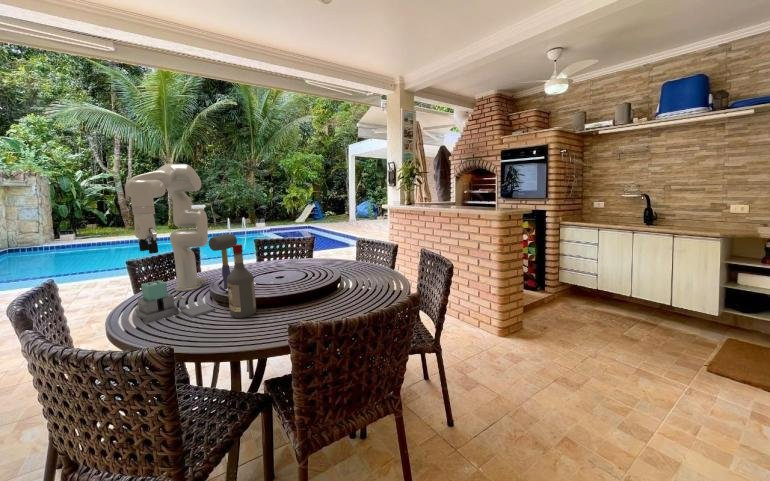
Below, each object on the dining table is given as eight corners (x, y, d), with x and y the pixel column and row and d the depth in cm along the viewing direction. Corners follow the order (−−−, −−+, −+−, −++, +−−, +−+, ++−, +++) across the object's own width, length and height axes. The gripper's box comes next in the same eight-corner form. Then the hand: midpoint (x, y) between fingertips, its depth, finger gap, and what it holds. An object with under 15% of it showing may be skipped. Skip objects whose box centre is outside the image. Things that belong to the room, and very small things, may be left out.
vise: (178, 304, 164) (174, 275, 162) (190, 310, 157) (186, 279, 154) (136, 316, 151) (132, 284, 149) (147, 322, 144) (143, 289, 141)
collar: (161, 293, 156) (159, 280, 155) (167, 296, 151) (166, 282, 150) (143, 297, 150) (141, 284, 149) (149, 300, 146) (147, 286, 145)
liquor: (249, 308, 158) (243, 242, 153) (258, 313, 151) (252, 245, 146) (228, 314, 151) (221, 245, 146) (237, 319, 145) (230, 248, 140)
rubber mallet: (223, 297, 174) (217, 237, 169) (212, 295, 177) (206, 236, 172) (242, 289, 185) (237, 233, 180) (232, 288, 188) (227, 232, 183)
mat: (204, 306, 162) (204, 304, 162) (215, 310, 156) (215, 308, 156) (181, 312, 154) (181, 310, 154) (192, 317, 148) (191, 315, 148)
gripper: (125, 210, 147) (131, 251, 149) (141, 212, 136) (147, 255, 139) (145, 209, 152) (151, 248, 155) (162, 210, 142) (167, 252, 145)
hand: (149, 251), depth 147 cm, fingers open, 9 cm apart
